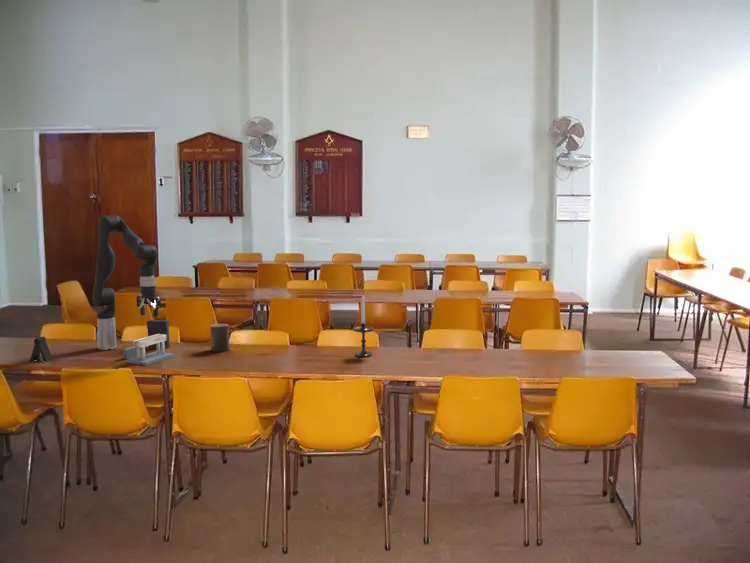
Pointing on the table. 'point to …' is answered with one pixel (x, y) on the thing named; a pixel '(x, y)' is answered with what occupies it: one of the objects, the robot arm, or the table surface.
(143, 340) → the shelf board
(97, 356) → the table surface
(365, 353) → the candlestick
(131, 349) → the block
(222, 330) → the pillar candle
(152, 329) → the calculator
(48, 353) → the phone stand
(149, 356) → the peg stand
